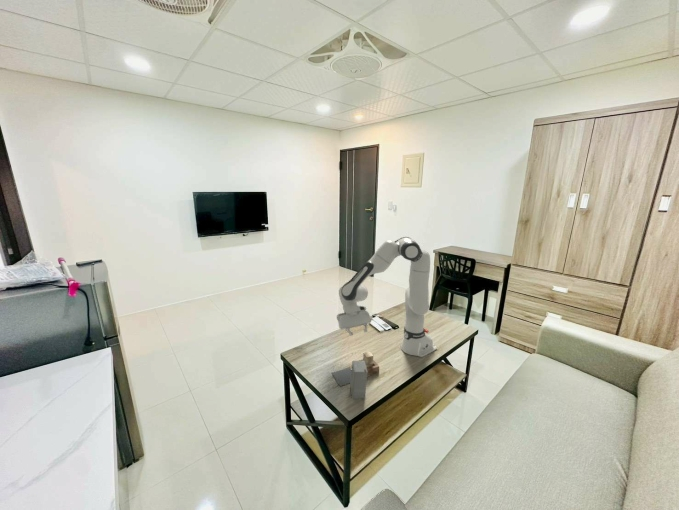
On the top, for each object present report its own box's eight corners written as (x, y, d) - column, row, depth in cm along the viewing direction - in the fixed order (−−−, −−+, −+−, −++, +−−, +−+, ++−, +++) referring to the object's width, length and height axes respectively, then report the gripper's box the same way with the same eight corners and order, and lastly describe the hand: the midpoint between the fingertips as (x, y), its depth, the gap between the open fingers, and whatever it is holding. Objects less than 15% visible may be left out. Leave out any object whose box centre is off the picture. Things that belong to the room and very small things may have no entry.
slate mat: (349, 368, 152) (349, 367, 152) (359, 380, 143) (359, 379, 142) (331, 373, 148) (331, 372, 148) (340, 386, 138) (340, 385, 138)
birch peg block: (369, 366, 153) (369, 351, 151) (372, 371, 150) (373, 355, 147) (362, 368, 152) (363, 353, 149) (366, 373, 148) (367, 357, 146)
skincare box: (350, 387, 138) (350, 360, 134) (363, 386, 139) (364, 359, 135) (352, 399, 130) (352, 371, 126) (366, 398, 130) (368, 370, 126)
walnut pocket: (370, 363, 157) (370, 357, 156) (379, 372, 149) (379, 366, 148) (356, 367, 153) (357, 361, 152) (364, 377, 145) (365, 370, 144)
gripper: (337, 312, 156) (344, 336, 150) (367, 306, 164) (375, 328, 158) (334, 316, 161) (340, 339, 155) (364, 310, 169) (371, 331, 163)
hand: (358, 333), depth 157 cm, fingers open, 8 cm apart
